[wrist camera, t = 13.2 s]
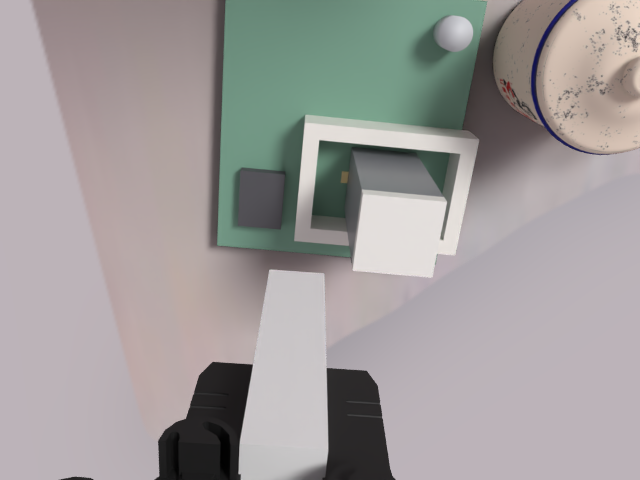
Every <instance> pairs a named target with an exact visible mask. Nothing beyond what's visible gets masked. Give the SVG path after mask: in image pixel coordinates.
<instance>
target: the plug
mask: <svg viewBox="0 0 640 480" xmlns="http://www.w3.org/2000/svg"><path fill="white" fill-rule="evenodd" d="M446 205H447V201H446V199H445V198H444V196H443V195H442V193H441V192H440V190H439V188H438V187H437V185H436V184H435V182H434V180H433V179H432V177H431V176H430V174H429V173H428V171H427V169H426V168H425V166H424V165H423V163H422V162H421V160H420V158H419V157H418V155H417V154H416V153H409V152H398V151H388V150H378V149H368V148H357V147H352V149H351V157H350V165H349V173H348V181H347V189H346V197H345V206H344V211H345V218H346V226H347V233H348V241H349V248H350V256H351V263H352V271H361V272H373V273H384V274H396V275H407V276H418V277H430V278H432V277H433V271H434V266H435V261H436V256H437V251H438V246H439V241H440V236H441V231H442V226H443V220H444V215H445V210H446Z"/></svg>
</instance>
